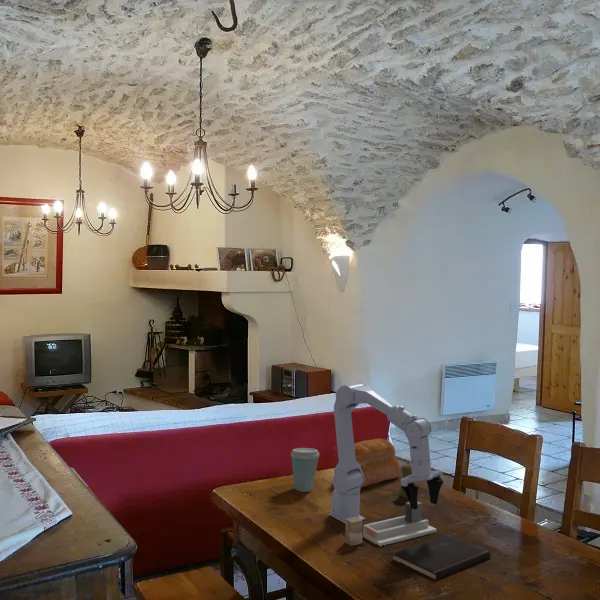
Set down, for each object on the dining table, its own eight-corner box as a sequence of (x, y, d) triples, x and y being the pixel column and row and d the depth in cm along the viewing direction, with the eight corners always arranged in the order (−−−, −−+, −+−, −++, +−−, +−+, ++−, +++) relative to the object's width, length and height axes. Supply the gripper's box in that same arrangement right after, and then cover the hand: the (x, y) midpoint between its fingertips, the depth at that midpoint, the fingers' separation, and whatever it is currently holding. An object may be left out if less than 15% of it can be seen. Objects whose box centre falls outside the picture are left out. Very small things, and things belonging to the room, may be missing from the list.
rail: (355, 532, 202) (355, 506, 202) (410, 519, 214) (411, 495, 214) (379, 546, 192) (380, 519, 192) (436, 532, 204) (436, 506, 203)
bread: (331, 482, 252) (332, 443, 252) (378, 470, 269) (378, 433, 269) (357, 491, 242) (357, 450, 242) (403, 477, 259) (404, 439, 259)
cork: (416, 498, 234) (416, 468, 234) (399, 497, 235) (399, 466, 235) (416, 493, 240) (417, 463, 240) (400, 492, 241) (400, 462, 241)
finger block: (345, 542, 195) (345, 519, 195) (357, 539, 197) (357, 516, 197) (351, 546, 192) (351, 522, 192) (363, 543, 195) (363, 519, 195)
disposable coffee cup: (288, 485, 248) (289, 445, 248) (317, 484, 249) (317, 445, 249) (291, 494, 238) (291, 453, 237) (321, 493, 239) (321, 452, 238)
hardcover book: (391, 561, 184) (391, 552, 184) (445, 541, 198) (445, 533, 198) (436, 582, 171) (436, 573, 171) (490, 559, 185) (490, 551, 185)
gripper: (410, 466, 189) (413, 513, 189) (448, 457, 197) (451, 503, 196) (394, 462, 195) (398, 508, 195) (432, 454, 203) (435, 499, 202)
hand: (424, 506), depth 196 cm, fingers open, 7 cm apart
